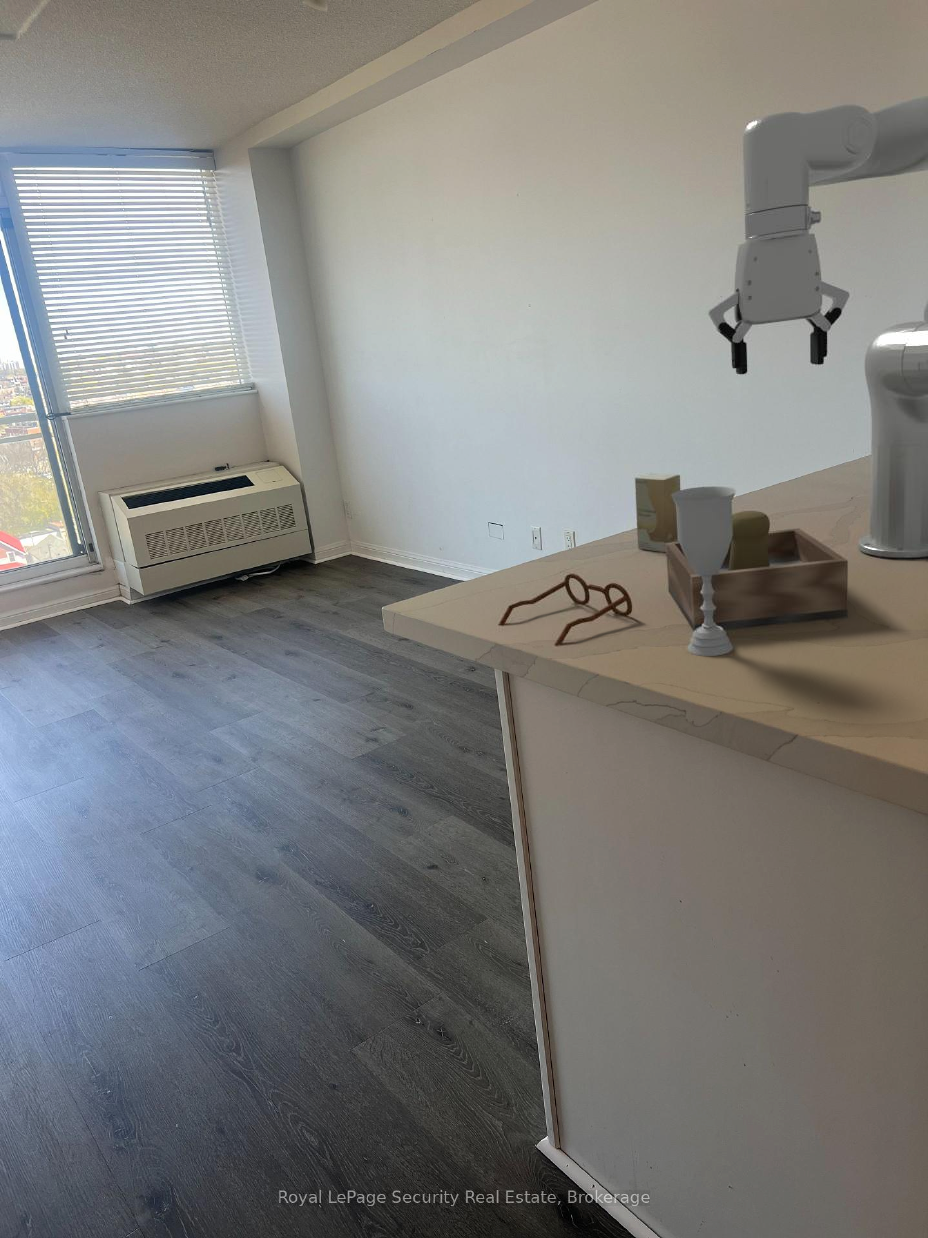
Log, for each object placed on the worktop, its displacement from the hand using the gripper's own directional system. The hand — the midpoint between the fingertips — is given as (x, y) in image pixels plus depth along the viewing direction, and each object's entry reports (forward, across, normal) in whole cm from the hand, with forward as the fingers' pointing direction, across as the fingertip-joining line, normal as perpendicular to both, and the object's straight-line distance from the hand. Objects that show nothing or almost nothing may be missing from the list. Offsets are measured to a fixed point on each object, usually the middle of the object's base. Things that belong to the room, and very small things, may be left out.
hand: (779, 368), depth 114 cm
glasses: (+29, +31, +9) cm, 44 cm away
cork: (+28, +7, +10) cm, 30 cm away
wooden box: (+28, +7, +10) cm, 31 cm away
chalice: (+28, +15, +25) cm, 41 cm away
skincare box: (+28, +13, -24) cm, 39 cm away
